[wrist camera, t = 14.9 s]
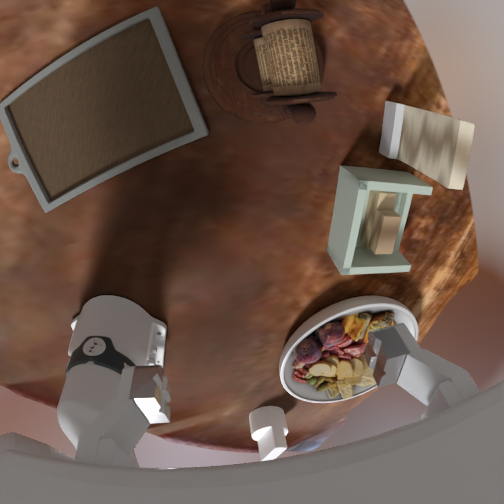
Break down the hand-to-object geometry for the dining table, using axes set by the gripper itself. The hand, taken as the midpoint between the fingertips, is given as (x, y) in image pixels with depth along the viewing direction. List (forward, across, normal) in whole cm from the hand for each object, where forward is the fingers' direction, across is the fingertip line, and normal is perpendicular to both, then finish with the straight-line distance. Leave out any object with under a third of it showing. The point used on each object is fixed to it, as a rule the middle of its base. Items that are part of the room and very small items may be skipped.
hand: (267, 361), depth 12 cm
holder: (+34, -26, -2) cm, 43 cm away
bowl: (+35, -19, +41) cm, 57 cm away
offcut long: (+33, -21, +11) cm, 41 cm away
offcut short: (+30, -21, +12) cm, 39 cm away
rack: (+34, -20, +11) cm, 41 cm away
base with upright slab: (+34, 0, +64) cm, 72 cm away
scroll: (+34, -6, -11) cm, 37 cm away
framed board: (+35, +19, -9) cm, 41 cm away
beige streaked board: (+33, -25, -2) cm, 42 cm away
